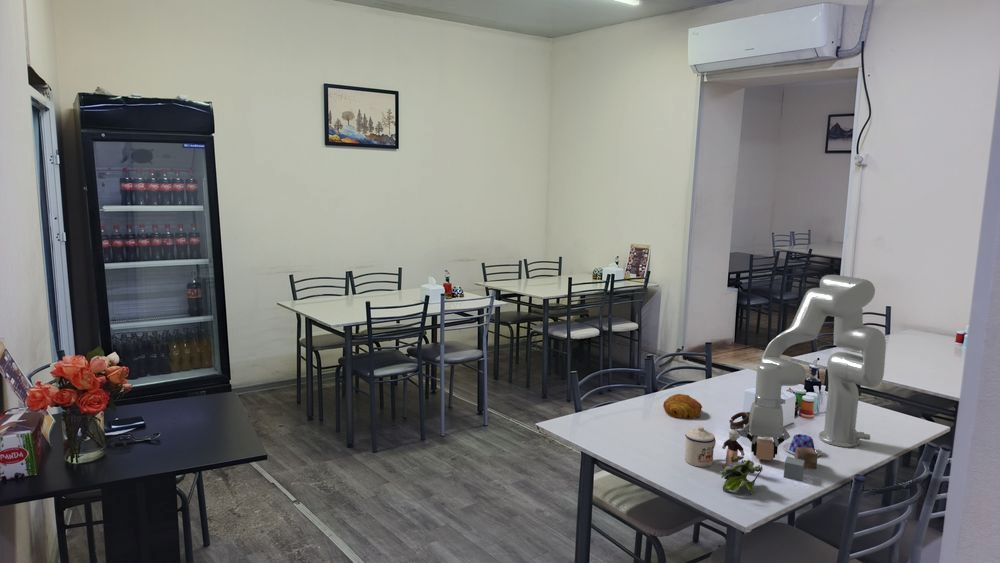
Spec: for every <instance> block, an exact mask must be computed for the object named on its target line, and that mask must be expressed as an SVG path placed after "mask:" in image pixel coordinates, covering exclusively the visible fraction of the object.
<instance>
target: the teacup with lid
mask: <svg viewBox="0 0 1000 563" xmlns="http://www.w3.org/2000/svg"><path fill="white" fill-rule="evenodd" d="M684 436H685V446H684V448H685V450H684V461H685V462H686V463H687V464H689V465H690V466H694V467H700V468H705V467H710V466H711V465H713V462H714V461H713V460H714V449H715V447H716V442H717V439H716V436H715V435H714V434H713V433H712V432H711V431H708V430H706V429H705V428H704V426H701V425H700V426H697V428H695V429H694V428H693V429H689V430H687V431H686V433H685V435H684Z"/></svg>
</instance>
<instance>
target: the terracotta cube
mask: <svg viewBox="0 0 1000 563" xmlns="http://www.w3.org/2000/svg"><path fill="white" fill-rule="evenodd" d="M773 442H774V440H773V438H772V439H771V438H770V439H769V438H763V437H762V438H761V437H758V438H757V440H756V444H757V450H756V456H755V459H758V460H765V461H766V460H768V461H774V458H773V454H774V444H773Z"/></svg>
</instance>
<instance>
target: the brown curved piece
mask: <svg viewBox="0 0 1000 563" xmlns="http://www.w3.org/2000/svg"><path fill="white" fill-rule="evenodd" d="M749 415H750V411H746V412H745V411H740V412H738V413H736V414H734V415H732V416H731V417H730V419H729V428H730V430H731V429H733V430H742V429H743V428H744V427H745V426H746V425H747V424H748V423H749ZM739 418H741V420H740V421H736V422H735V420H736V419H739Z"/></svg>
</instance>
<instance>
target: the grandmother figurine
mask: <svg viewBox="0 0 1000 563" xmlns="http://www.w3.org/2000/svg"><path fill="white" fill-rule="evenodd" d="M728 434H729V435H728V437H729V438H728V439H727V440H725V441H724V442H723V445H722V447H721V448H722V449H723V450H725V449H726V456H725V463H722V467H723V468H725V467H726V466H728V465H731V464H732V463H733V464H735V463H736V462H735V463H734V462H732V461H731V457H736V456H739V455H738V453H739V452H740V453H741V454H740V456H741V457H744V456H745V452H744V450H745V449H744V447H743V446H742V444H740V443H739V442H738V441H737V440H738V439H740V438H741V435H740V433H739V432H738V431H737V429H735V430H734V429H730V430H729V431H728Z"/></svg>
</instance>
